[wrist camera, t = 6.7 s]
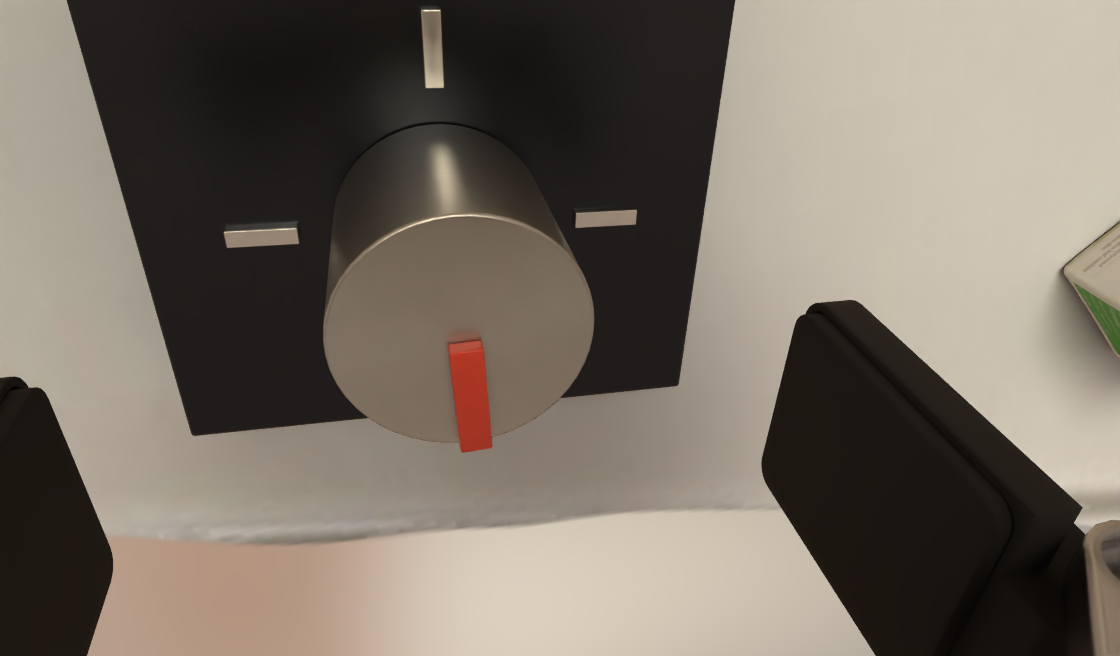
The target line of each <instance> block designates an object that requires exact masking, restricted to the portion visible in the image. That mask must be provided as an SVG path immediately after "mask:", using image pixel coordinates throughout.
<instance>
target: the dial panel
mask: <svg viewBox="0 0 1120 656" xmlns="http://www.w3.org/2000/svg"><path fill="white" fill-rule="evenodd" d="M67 4H68V7H69V11H70V14H71V18H72V21H73V24H74V28H75V31H76V35H77V38H78V42H79V45H80V49H81V52H82V56H83V59H84V63H85V66H86V70H87V73H88V77H89V80H90V84H91V87H92V90H93V94H94V97H95V101H96V104H97V108H98V111H99V115H100V118H101V122H102V125H103V129H104V132H105V136H106V139H107V143H108V146H109V150H110V153H111V157H112V160H113V163H114V167H115V170H116V174H117V177H118V181H119V184H120V188H121V191H122V195H123V198H124V202H125V205H126V209H127V212H128V216H129V219H130V223H131V226H132V229H133V233H134V236H135V240H136V243H137V247H138V250H139V254H140V257H141V261H142V264H143V268H144V271H145V275H146V278H147V282H148V285H149V289H150V292H151V296H152V299H153V302H154V306H155V309H156V313H157V316H158V320H159V323H160V327H161V330H162V334H163V337H164V341H165V344H166V348H167V351H168V355H169V358H170V362H171V365H172V369H173V372H174V375H175V379H176V382H177V386H178V389H179V393H180V396H181V400H182V403H183V407H184V410H185V414H186V417H187V421H188V424H189V428H190V431H191V434H192V435H193V436H199V435H208V434H218V433H228V432H237V431H247V430H257V429H266V428H276V427H286V426H295V425H305V424H315V423H324V422H334V421H344V420H353V419H363V418H368V417H367V416H366V415H364V414H363V413H362V412H361V411H359V410H358V409H357V408H356V407H355V406H354V405H353V404H352V403H351V402H350V401H349V400H348V399H347V398H346V396H345V395H344V394H343V392H342V391H341V389H340V388H339V386H338V385H337V383H336V381H335V379H334V377H333V375H332V373H331V371H330V369H329V366H328V363H327V359H326V356H325V350H324V343H323V323H324V312H325V302H326V291H327V280H328V269H329V259H330V248H331V237H332V226H333V216H334V209H335V203H336V198H337V195H338V192H339V189H340V187H341V185H342V183H343V181H344V179H345V177H346V175H347V173H348V172H349V170H350V169H351V168H352V166H353V165H354V163H355V162H356V161H357V160H358V159H359V158H360V157H361V156H362V155H363V154H364V153H365V152H366V151H367V150H369V149H370V148H371V147H372V146H374V145H375V144H376V143H378V142H380V141H381V140H383V139H385V138H386V137H388V136H390V135H393V134H395V133H397V132H399V131H402V130H406V129H409V128H413V127H417V126H423V125H430V124H448V125H457V126H462V127H467V128H471V129H474V130H477V131H480V132H482V133H485V134H487V135H489V136H491V137H493V138H495V139H496V140H498V141H500V142H501V143H503V144H504V145H505V146H507V147H508V148H509V149H511V150H512V151H513V152H514V153H515V154H516V155H517V156H518V157H519V158H520V159H521V160H522V162H523V163H524V164H525V166H526V167H527V168H528V170H529V171H530V173H531V175H532V176H533V178H534V180H535V182H536V184H537V186H538V188H539V190H540V191H541V193H542V195H543V197H544V199H545V201H546V203H547V205H548V207H549V209H550V211H551V213H552V215H553V217H554V219H555V221H556V223H557V224H558V226H559V228H560V230H561V232H562V234H563V236H564V238H565V240H566V242H567V244H568V246H569V248H570V250H571V252H572V254H573V256H574V257H575V259H576V261H577V263H578V265H579V267H580V269H581V271H582V273H583V275H584V277H585V279H586V282H587V284H588V287H589V289H590V293H591V297H592V302H593V308H594V330H593V337H592V342H591V346H590V350H589V353H588V355H587V358H586V361H585V363H584V365H583V367H582V369H581V371H580V372H579V374H578V376H577V378H576V379H575V380H574V382H573V383H572V385H571V386H570V387H569V389H568V390H567V391H566V392H565V393H564V394H563V395H562V396H561V398H566V397H576V396H585V395H595V394H605V393H614V392H624V391H634V390H643V389H653V388H663V387H672V386H677V385H678V384H679V378H680V371H681V365H682V358H683V351H684V344H685V337H686V331H687V324H688V317H689V310H690V303H691V297H692V290H693V283H694V276H695V269H696V263H697V256H698V249H699V242H700V235H701V229H702V222H703V215H704V208H705V201H706V195H707V188H708V181H709V174H710V167H711V161H712V154H713V147H714V140H715V133H716V127H717V120H718V113H719V106H720V99H721V93H722V86H723V79H724V72H725V65H726V59H727V52H728V45H729V38H730V31H731V25H732V18H733V11H734V4H735V0H67Z"/></svg>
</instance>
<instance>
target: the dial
mask: <svg viewBox="0 0 1120 656" xmlns="http://www.w3.org/2000/svg"><path fill="white" fill-rule="evenodd" d="M593 330H594V308H593V302H592V297H591V293H590V289H589V287H588V284H587V282H586V279H585V277H584V275H583V273H582V271H581V269H580V267H579V265H578V263H577V261H576V259H575V257H574V256H573V254H572V252H571V250H570V248H569V246H568V244H567V242H566V240H565V238H564V236H563V234H562V232H561V230H560V228H559V226H558V224H557V223H556V221H555V219H554V217H553V215H552V213H551V211H550V209H549V207H548V205H547V203H546V201H545V199H544V197H543V195H542V193H541V191H540V190H539V188H538V186H537V184H536V182H535V180H534V178H533V176H532V175H531V173H530V171H529V170H528V168H527V167H526V166H525V164H524V163H523V162H522V160H521V159H520V158H519V157H518V156H517V155H516V154H515V153H514V152H513V151H512V150H511V149H509V148H508V147H507V146H505V145H504V144H503V143H501V142H500V141H498V140H496V139H495V138H493V137H491V136H489V135H487V134H485V133H482V132H480V131H477V130H474V129H471V128H467V127H462V126H457V125H448V124H430V125H423V126H417V127H413V128H409V129H406V130H402V131H399V132H397V133H395V134H393V135H390V136H388V137H386V138H385V139H383V140H381V141H380V142H378V143H376V144H375V145H374V146H372V147H371V148H370V149H369V150H367V151H366V152H365V153H364V154H363V155H362V156H361V157H360V158H359V159H358V160H357V161H356V162H355V163H354V165H353V166H352V168H351V169H350V170H349V172H348V173H347V175H346V177H345V179H344V181H343V183H342V185H341V187H340V189H339V192H338V195H337V198H336V203H335V209H334V216H333V226H332V237H331V248H330V259H329V269H328V280H327V291H326V302H325V312H324V323H323V343H324V350H325V356H326V359H327V363H328V366H329V369H330V371H331V373H332V375H333V377H334V379H335V381H336V383H337V385H338V386H339V388H340V389H341V391H342V392H343V394H344V395H345V396H346V398H347V399H348V400H349V401H350V402H351V403H352V404H353V405H354V406H355V407H356V408H357V409H358V410H359V411H361V412H362V413H363V414H364V415H366V416H367V417H368V418H369V419H371V420H373V421H374V422H376V423H378V424H379V425H381V426H383V427H385V428H387V429H389V430H391V431H394V432H396V433H399V434H402V435H405V436H408V437H411V438H416V439H420V440H425V441H434V442H459V443H460V449H461V452H463V453H464V452H470V451H476V450H482V449H489V448H492V446H493V445H492V437H493V436H497V435H500V434H503V433H506V432H508V431H511V430H513V429H515V428H518V427H520V426H522V425H524V424H526V423H527V422H529V421H531V420H533V419H535V418H536V417H537V416H539V415H540V414H542V413H543V412H545V411H546V410H547V409H549V408H550V407H551V406H552V405H553V404H554V403H555V402H557V401H558V400H559V399H560V398H561V396H562V395H563V394H564V393H565V392H566V391H567V390H568V389H569V387H570V386H571V385H572V383H573V382H574V380H575V379H576V378H577V376H578V374H579V372H580V371H581V369H582V367H583V365H584V363H585V361H586V358H587V355H588V353H589V350H590V346H591V342H592V337H593Z"/></svg>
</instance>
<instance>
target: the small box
mask: <svg viewBox="0 0 1120 656" xmlns="http://www.w3.org/2000/svg"><path fill="white" fill-rule="evenodd" d="M1064 275H1065V276H1066V277H1067V279H1068V280H1069V282H1070V283H1071V284H1072V286H1073V287H1074V289H1075V290H1076V292H1077V293H1078V295H1079V297H1080V298H1081V300H1082V301H1083V303H1084V304H1085V306H1086V307H1087V309H1088V311H1089V312H1090V314H1091V315H1092V317H1093V319H1094V320H1095V322H1096V323H1097V325H1098V327H1099V328H1100V330H1101V332H1102V333H1103V335H1104V337H1105V339H1106V340H1107V342H1108V344H1109V345H1110V347H1111V349H1112V351H1113V352H1114V353H1115V354H1116V355H1117V356H1118V357H1119V358H1120V223H1119V224H1117V225H1116V226H1115V227H1114V228H1113V229H1111V230H1110V231H1109V232H1107V233H1106V234H1105V235H1103V236H1102V237H1101V238H1100V239H1098V240H1097V241H1096V242H1094V243H1093V244H1092V245H1090V246H1089V247H1088V248H1087V249H1085V250H1084V251H1083V252H1082V253H1080V254H1079V255H1078V256H1077V257H1075V258H1074V259H1073V260H1072V261H1071V262H1070V263H1069V264H1067V265H1066V266H1065V267H1064Z"/></svg>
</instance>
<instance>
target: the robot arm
mask: <svg viewBox="0 0 1120 656" xmlns="http://www.w3.org/2000/svg"><path fill="white" fill-rule="evenodd" d="M762 473H763V477H764V480H765V482H766V484H767V486H768V488H769V489H770V491H771V492H772V494H773V496H774V497H775V499H776V500H777V502H778V503H779V505H780V507H781V508H782V510H783V511H784V513H785V514H786V516H787V518H788V519H789V521H790V522H791V524H792V525H793V527H794V528H795V530H796V532H797V533H798V535H799V536H800V538H801V539H802V541H803V543H804V544H805V546H806V547H807V549H808V550H809V552H810V554H811V555H812V557H813V558H814V560H815V561H816V563H817V564H818V566H819V568H820V569H821V571H822V572H823V574H824V575H825V577H826V578H827V580H828V582H829V583H830V585H831V586H832V588H833V590H834V591H835V593H836V594H837V595H838V597H839V599H840V600H841V602H842V604H843V605H844V607H845V608H846V610H847V611H848V613H849V615H850V616H851V618H852V619H853V621H854V622H855V624H856V626H857V627H858V629H859V630H860V631H861V633H862V635H863V636H864V638H865V640H866V641H867V643H868V644H869V646H870V647H871V649H872V651H873V652H874V654H875V655H876V656H1120V520H1110V521H1106V522H1103V523H1099V524H1096V525H1095V526H1094V527H1093V528H1092V529H1091V530H1090V531H1088V532H1087V534H1086V535H1085V534H1084V533H1083V532H1082V531H1081V530H1080V529H1079V528H1078V527H1077V526H1076V525H1075V524H1074V522H1075V520H1076V518H1077V516H1078V515H1079V513H1080V511H1081V510H1082V508H1083V507H1081V506H1080V505H1079V504H1078V503H1077V502H1076V501H1075V500H1074V499H1073V498H1072V497H1071V496H1069V495H1068V494H1067V493H1066V492H1065V491H1064V490H1063V489H1062V488H1061V487H1060V486H1059V485H1058V484H1056V483H1055V482H1054V481H1053V480H1052V479H1051V478H1050V477H1049V476H1048V475H1047V474H1046V473H1044V472H1043V471H1042V470H1041V469H1040V468H1039V467H1038V466H1037V465H1036V464H1035V463H1034V462H1032V461H1031V460H1030V459H1029V458H1028V457H1027V456H1026V455H1025V454H1024V453H1023V452H1022V451H1021V450H1019V449H1018V448H1017V447H1016V446H1015V445H1014V444H1013V443H1012V442H1011V441H1010V440H1009V439H1007V438H1006V437H1005V436H1004V435H1003V434H1002V433H1001V432H1000V431H999V430H998V429H997V428H995V427H994V426H993V425H992V424H991V423H990V422H989V421H988V420H987V419H986V418H985V417H984V416H982V415H981V414H980V413H979V412H978V411H977V410H976V409H975V408H974V407H973V406H972V405H970V404H969V403H968V402H967V401H966V400H965V399H964V398H963V397H962V396H961V395H960V394H958V393H957V392H956V391H955V390H954V389H953V388H952V387H951V386H950V385H949V384H948V383H946V382H945V381H944V380H943V379H942V378H941V377H940V376H939V375H938V374H937V373H936V372H935V371H933V370H932V369H931V368H930V367H929V366H928V365H927V364H926V363H925V362H924V361H923V360H921V359H920V358H919V357H918V356H917V355H916V354H915V353H914V352H913V351H912V350H911V349H909V348H908V347H907V346H906V345H905V344H904V343H903V342H902V341H901V340H900V339H899V338H898V337H896V336H895V335H894V334H893V333H892V332H891V331H890V330H889V329H888V328H887V327H886V326H884V325H883V324H882V323H881V322H880V321H879V320H878V319H877V318H876V317H875V316H874V315H872V314H871V313H870V312H869V311H868V310H867V309H866V308H865V307H864V306H863V305H862V304H860V303H859V302H857V301H854V300H845V301H834V302H823V303H815V304H813V305H811V306H810V307H809V309H808V310H807V312H806V314H805V315H802V316H800V317H799V318H798V319H797V321H796V324H795V327H794V331H793V335H792V339H791V343H790V347H789V351H788V355H787V359H786V363H785V367H784V371H783V375H782V379H781V383H780V388H779V392H778V396H777V400H776V404H775V408H774V412H773V416H772V420H771V424H770V428H769V432H768V436H767V440H766V444H765V448H764V452H763V456H762ZM112 573H113V558H112V552H111V548H110V546H109V543H108V541H107V538H106V536H105V533H104V531H103V529H102V526H101V524H100V521H99V519H98V517H97V514H96V512H95V509H94V507H93V505H92V502H91V500H90V497H89V495H88V493H87V490H86V488H85V485H84V483H83V481H82V478H81V476H80V473H79V471H78V469H77V466H76V464H75V461H74V459H73V457H72V454H71V452H70V449H69V447H68V445H67V442H66V440H65V437H64V435H63V433H62V430H61V428H60V425H59V423H58V421H57V418H56V416H55V413H54V411H53V409H52V406H51V404H50V401H49V399H48V397H47V395H46V393H45V392H44V391H43V390H42V389H41V388H37V387H36V388H28V386H27V384H26V383H25V382H24V381H23V380H22V379H21V378H18V377H5V378H0V656H87V654H88V650H89V647H90V644H91V641H92V638H93V635H94V632H95V629H96V626H97V622H98V619H99V617H100V613H101V610H102V607H103V604H104V601H105V598H106V595H107V592H108V589H109V586H110V583H111V578H112Z"/></svg>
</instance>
